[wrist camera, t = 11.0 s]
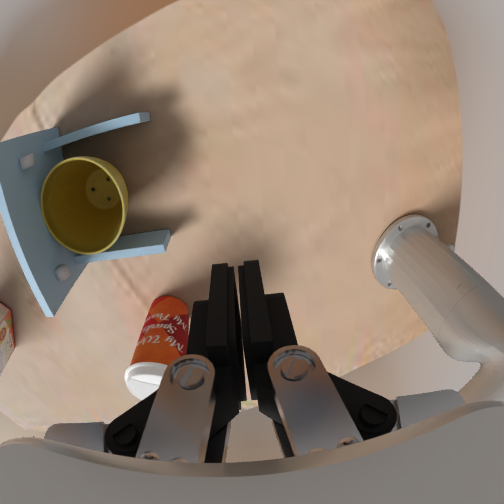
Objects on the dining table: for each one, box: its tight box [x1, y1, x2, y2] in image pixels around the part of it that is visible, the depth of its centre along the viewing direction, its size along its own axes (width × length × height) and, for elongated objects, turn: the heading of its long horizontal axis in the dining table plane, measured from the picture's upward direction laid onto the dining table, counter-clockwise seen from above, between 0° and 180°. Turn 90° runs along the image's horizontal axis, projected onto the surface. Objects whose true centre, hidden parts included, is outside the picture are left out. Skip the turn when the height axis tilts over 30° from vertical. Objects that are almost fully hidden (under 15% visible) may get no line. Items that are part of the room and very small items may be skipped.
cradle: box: [0, 112, 171, 317], centre depth 23 cm, size 13×18×12 cm
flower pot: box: [40, 156, 128, 255], centre depth 25 cm, size 10×10×7 cm
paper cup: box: [124, 296, 189, 400], centre depth 32 cm, size 8×8×14 cm
